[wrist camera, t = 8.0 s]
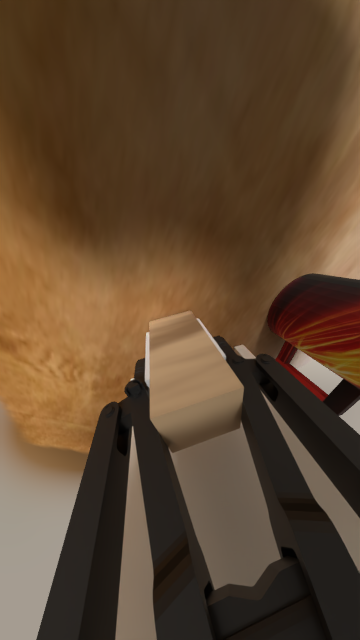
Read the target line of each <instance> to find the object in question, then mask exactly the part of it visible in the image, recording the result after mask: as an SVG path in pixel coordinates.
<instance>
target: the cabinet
mask: <svg viewBox="0 0 360 640" xmlns="http://www.w3.org/2000/svg"><path fill="white" fill-rule="evenodd" d="M234 351H235V353H236V354H237V355H239V356H242V357H243V358H245V359H256V357H255V356H254V355H253V354H252V353H251V352H250V351H249V350H248V349H247V348H246V347H245V346H244V345H243V344H242V345H239V346H236V347H234ZM133 379H134V378H133ZM133 379H131V380H133ZM131 380H130V381H131ZM262 394H263V393H262ZM263 396H264V398H265V400H266V402H267V404H268V406H269V408H270V410H271V412H272V414H273V416H274V418H275V420H276V422H277V424H278V426H279V428H280V430H281V432H282V434H283V436H284V438H285V440H286V442H287V444H288V446H289V448H290V451H291V453H292V455H293V457H294V459H295V461H296V463H297V465H298V467H299V469H300V471H301V473H302V475H303V477H304V479H305V481H306V483H307V485H308V487H309V489H310V491H311V493H312V495H313V496H314V498H315V500H316V501H317V503H318V504H319V505H320V506H321V508H322V509H323V510H324V511H325V512H326V513H327V515H328V516H329V518H330V519H331V521H332V522H333V524H334V526H335V528H336V529H337V531H338V533H339V535H340V537H341V538H342V540H343V542H344V544H345V546H346V548H347V550H348V552H349V554H350V556H351V558H352V559H353V561H354V563H355V565H356V567H357V569H358V571H359V573H360V518H359V517H358V515H357V514H356V513H355V512H354V510H353V509H352V508H351V506H350V505H349V504H348V502H347V501H346V500H345V499H344V497H343V496H342V495H341V493H340V492H339V491H338V490H337V488H336V487H335V486H334V484H333V483H332V482H331V481H330V479H329V478H328V477H327V475H326V474H325V473H324V472H323V470H322V469H321V468H320V466H319V465H318V464H317V463H316V461H315V460H314V459H313V457H312V456H311V455H310V453H309V452H308V451H307V450H306V448H305V447H304V446H303V444H302V443H301V442H300V441H299V439H298V438H297V437H296V435H295V434H294V433H293V432H292V430H291V429H290V428H289V426H288V425H287V424H286V423H285V421H284V420H283V419H282V417H281V416H280V415H279V414H278V412H277V411H276V410H275V408H274V407H273V406H272V405H271V403H270V402H269V401H268V399H267V398H266V397H265V395H264V394H263ZM168 448H169V447H168ZM169 451H170V454H171V458H172V461H173V464H174V467H175V470H176V473H177V477H178V480H179V483H180V486H181V489H182V493H183V496H184V499H185V502H186V505H187V508H188V512H189V515H190V518H191V521H192V524H193V528H194V531H195V534H196V537H197V540H198V542H199V545H200V547H201V549H202V552H203V555H204V558H205V561H206V564H207V567H208V570H209V573H210V577H211V580H212V583H213V586H214V589H215V590H216V589H218V588H220V587H223V586H225V585H227V584H236V585H243V586H250V587H252V586H254V585H255V584H256V582H257V581H258V579H259V578H260V576H261V575H262V574H263V572H264V571H265V569H266V568H267V566H268V565H269V564H271V563H273V562H275V561H277V560H279V559H281V558H280V554H279V551H278V548H277V544H276V541H275V538H274V534H273V531H272V527H271V523H270V519H269V513H268V508H267V504H266V501H265V498H264V494H263V491H262V488H261V484H260V481H259V478H258V475H257V471H256V468H255V465H254V461H253V458H252V455H251V452H250V448H249V445H248V442H247V439H246V435H245V432H244V429H243V425H242V422H241V424H240V428H239V429H237V430H234V431H231V432H228V433H226V434H223V435H220V436H218V437H215V438H212V439H209V440H207V441H204V442H201V443H199V444H196V445H193V446H191V447H188V448H185V449H182V450H180V451H177V452H174V453H172V452H171V450H170V449H169ZM153 580H154V575H153V563H152V556H151V549H150V542H149V535H148V528H147V521H146V514H145V507H144V500H143V493H142V486H141V479H140V472H139V465H138V458H137V451H136V444H135V437H134V430H133V426H132V437H131V449H130V462H129V474H128V487H127V499H126V512H125V524H124V537H123V549H122V562H121V574H120V587H119V599H118V612H117V624H116V637H115V640H157V637H156V629H155V620H154V610H153Z"/></svg>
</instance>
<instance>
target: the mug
mask: <svg viewBox="0 0 360 640" xmlns="http://www.w3.org/2000/svg"><path fill="white" fill-rule="evenodd" d="M267 322H268V326H269V328H270V330H271V331H272V332H274V333H275V334H277V335H278V336H280V337H281V338H283V339H284V340H286V341H285V343H284V345H283V347H282V349H281V351H280V353H279V355H278V357H277V358H276V361H277V362H278V363H280V364H281V365H282V366H283V367H284V368H285V369H286V370H287V371H289V372H290V373H291V374H292V375H293V376H294V377H295V378H296V379H298V380H299V381H300V382H301V383H302V384H303V385H304V386H305V387H307V388H308V389H309V390H310V391H311V392H312V393H313V394H314V395H316V396H317V397H318V398H319V399H320V400H321V401H322V402H323V403H325V404H326V405H327V406H328V407H329V408H330V409H331V410H332V411H334V412H335V413H336V414H337V415H338V416H339V415H342V414H343V413H345V412H346V411H347V410H348V409H349V408H351V407H352V406H353V405H354V404H355V403H356V402H357V401H358V400H360V280H356V279H349V278H342V277H335V276H328V275H321V274H307V275H304V276H301V277H299V278H297V279H295V280H294V281H292V282H291V283H290V284H288V285H287V286H286V287H285V288H284V289H283V290H282V291H281V292H280V293H279V294H278V296H277V297H276V298H275V300H274V302H273V303H272V305H271V307H270V310H269V313H268V320H267ZM297 349H299V350H301V351H302V352H304V353H305V354H307V355H308V356H310V357H311V358H313V359H314V360H316V361H317V362H319V363H321V364H322V365H323V366H325V367H326V368H328V369H330V370H331V371H333V372H334V373H336V374H337V375H339V376H340V377H342V378H343V380H342V381H341V382H340V383H339V385H338V386H337V387H336V388H335V389H334V390H333V391H332V392H331V393H330V394H329V395H328V394H326V393H325V392H324V391H323V390H321V389H320V388H319V387H318V386H317V385H315V384H314V383H313V382H312V381H310V380H309V379H308V378H307V377H305V376H304V375H303V374H302V373H300V372H299V371H298V370H297V369H296V368H294V367H293V366H292V365H291V364H289V363H290V361H291V360H292V358H293V356H294V355H295V353H296V351H297Z"/></svg>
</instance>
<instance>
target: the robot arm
mask: <svg viewBox="0 0 360 640" xmlns="http://www.w3.org/2000/svg"><path fill="white" fill-rule="evenodd" d="M197 320H198V322H199V323H200V324H201V326H202V327H203V329H204V330H205V332H206V333H207V334H208V336H209V337H210V339H211V340H212V342H213V343H214V345H215V346H216V347H217V349H218V350H219V352H220V353H221V355H222V356H223V358H224V359H225V360H226V362H227V363H228V365H229V366H230V368H231V369H232V370H233V372H234V373H235V375H236V376H237V378H238V379H239V381H240V382H241V383H242V385H243V386H244V392H243V403H242V413H241V422H242V425H243V429H244V432H245V435H246V439H247V442H248V445H249V448H250V452H251V455H252V458H253V461H254V465H255V468H256V471H257V475H258V478H259V481H260V484H261V488H262V491H263V494H264V498H265V501H266V504H267V508H268V513H269V519H270V523H271V527H272V531H273V534H274V538H275V541H276V544H277V548H278V551H279V554H280V558H281V559H279V560H277V561H275V562H273V563H271V564H269V565H268V566H267V568H266V569H265V571H264V572H263V574H262V575H261V576H260V578H259V579H258V581H257V582H256V584H255V585H254V586H252V587H250V586H243V585H236V584H227V585H225V586H223V587H220V588H218V589H216V590H215V589H214V586H213V583H212V580H211V577H210V573H209V570H208V567H207V564H206V561H205V558H204V555H203V552H202V549H201V547H200V545H199V542H198V540H197V537H196V534H195V531H194V528H193V524H192V521H191V518H190V515H189V512H188V508H187V505H186V502H185V499H184V496H183V493H182V489H181V486H180V483H179V480H178V477H177V473H176V470H175V467H174V464H173V461H172V458H171V454H170V451H169V448H168V446H167V444H166V443H165V441H164V440H163V438H162V437H161V435H160V434H159V432H158V431H157V429H156V428H155V426H154V424H153V423H152V421H151V420H150V361H149V332H147V333H146V355H145V358H144V359H140V360H138V361H137V363H136V366H135V375H134V379H133V380H131V381H130V382H129V383H128V384H127V385H126V387H125V391H124V392H125V393H126V394H127V396H128V397H127V398H125V399H124V400H122V401H121V402H119V403H117V402H111V403H109V404H107V405H106V406H105V407H104V408H103V410H102V411H101V413H100V416H99V420H98V423H97V427H96V430H95V434H94V437H93V441H92V445H91V448H90V452H89V455H88V459H87V462H86V466H85V469H84V473H83V476H82V480H81V483H80V487H79V491H78V494H77V498H76V502H75V505H74V509H73V512H72V515H71V519H70V523H69V526H68V530H67V533H66V537H65V540H64V544H63V547H62V551H61V554H60V558H59V561H58V565H57V568H56V572H55V576H54V579H53V583H52V586H51V590H50V593H49V597H48V601H47V604H46V607H45V611H44V614H43V618H42V622H41V625H40V629H39V632H38V636H37V639H36V640H115V637H116V624H117V612H118V599H119V587H120V574H121V562H122V549H123V537H124V524H125V512H126V499H127V487H128V474H129V462H130V449H131V437H132V426H133V430H134V437H135V444H136V451H137V458H138V465H139V472H140V479H141V486H142V493H143V500H144V507H145V514H146V521H147V528H148V535H149V542H150V549H151V556H152V563H153V575H154V580H153V610H154V620H155V629H156V637H157V640H360V573H359V571H358V569H357V567H356V565H355V563H354V561H353V559H352V558H351V556H350V554H349V552H348V550H347V548H346V546H345V544H344V542H343V540H342V538H341V537H340V535H339V533H338V531H337V529H336V528H335V526H334V524H333V522H332V521H331V519H330V518H329V516H328V515H327V513H326V512H325V511H324V510H323V509H322V508H321V506H320V505H319V504H318V503H317V501H316V500H315V498H314V496H313V495H312V493H311V491H310V489H309V487H308V485H307V483H306V481H305V479H304V477H303V475H302V473H301V471H300V469H299V467H298V465H297V463H296V461H295V459H294V457H293V455H292V453H291V451H290V448H289V446H288V444H287V442H286V440H285V438H284V436H283V434H282V432H281V430H280V428H279V426H278V424H277V422H276V420H275V418H274V416H273V414H272V412H271V410H270V408H269V406H268V404H267V402H266V400H265V398H264V396H263V394H264V395H265V397H266V398H267V399H268V401H269V402H270V403H271V405H272V406H273V407H274V408H275V410H276V411H277V412H278V414H279V415H280V416H281V417H282V419H283V420H284V421H285V423H286V424H287V425H288V426H289V428H290V429H291V430H292V432H293V433H294V434H295V435H296V437H297V438H298V439H299V441H300V442H301V443H302V444H303V446H304V447H305V448H306V450H307V451H308V452H309V453H310V455H311V456H312V457H313V459H314V460H315V461H316V463H317V464H318V465H319V466H320V468H321V469H322V470H323V472H324V473H325V474H326V475H327V477H328V478H329V479H330V481H331V482H332V483H333V484H334V486H335V487H336V488H337V490H338V491H339V492H340V493H341V495H342V496H343V497H344V499H345V500H346V501H347V502H348V504H349V505H350V506H351V508H352V509H353V510H354V512H355V513H356V514H357V515H358V517H359V518H360V435H359V434H358V433H357V432H356V431H355V430H354V429H353V428H351V427H350V426H349V425H348V424H347V423H346V422H345V421H344V420H342V419H341V418H340V417H339V416H338V415H337V414H336V413H335V412H334V411H332V410H331V409H330V408H329V407H328V406H327V405H326V404H325V403H323V402H322V401H321V400H320V399H319V398H318V397H317V396H316V395H314V394H313V393H312V392H311V391H310V390H309V389H308V388H307V387H305V386H304V385H303V384H302V383H301V382H300V381H299V380H298V379H296V378H295V377H294V376H293V375H292V374H291V373H290V372H289V371H287V370H286V369H285V368H284V367H283V366H282V365H281V364H280V363H278V362H277V361H276V360H275V359H274V358H273V357H271V356H269V355H267V354H259V355H257V357H256V359H245V358H243V357H242V356H239V355H237V354H236V353H235V351H234V350H233V349H232V348H231V347H230V345H228V343H227V342H226V341H225V340H224V338H222V337H220V336H216V337H212V336H211V334H210V333H209V332H208V330H207V329H206V328H205V326H204V325H203V323H202V322H201V321H200V319H199V318H197ZM262 393H263V394H262Z"/></svg>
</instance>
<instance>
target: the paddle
mask: <svg viewBox="0 0 360 640" xmlns="http://www.w3.org/2000/svg"><path fill="white" fill-rule="evenodd" d="M149 361H150V420H151V421H152V423H153V424H154V426H155V428H156V429H157V431H158V432H159V434H160V435H161V437H162V438H163V440H164V441H165V443H166V444H167V446H168V447H169V449H170V450H171V452H172V453H174V452H177V451H180V450H182V449H185V448H188V447H191V446H193V445H196V444H199V443H201V442H204V441H207V440H209V439H212V438H215V437H218V436H220V435H223V434H226V433H228V432H231V431H234V430H237V429H239V428H240V424H241V413H242V403H243V392H244V386H243V385H242V383H241V382H240V381H239V379H238V378H237V376H236V375H235V373H234V372H233V370H232V369H231V368H230V366H229V365H228V363H227V362H226V360H225V359H224V358H223V356H222V355H221V353H220V352H219V350H218V349H217V347H216V346H215V345H214V343H213V342H212V340H211V339H210V337H209V336H208V334H207V333H206V332H205V330H204V329H203V327H202V326H201V324H200V323H199V322H198V320H197V319H196V317H195V316H194V314H193V313H192V311H191V310H190V311H186V312H183V313H179V314H175V315H172V316H168V317H164V318H161V319H157V320H154V321H150V322H149Z"/></svg>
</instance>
